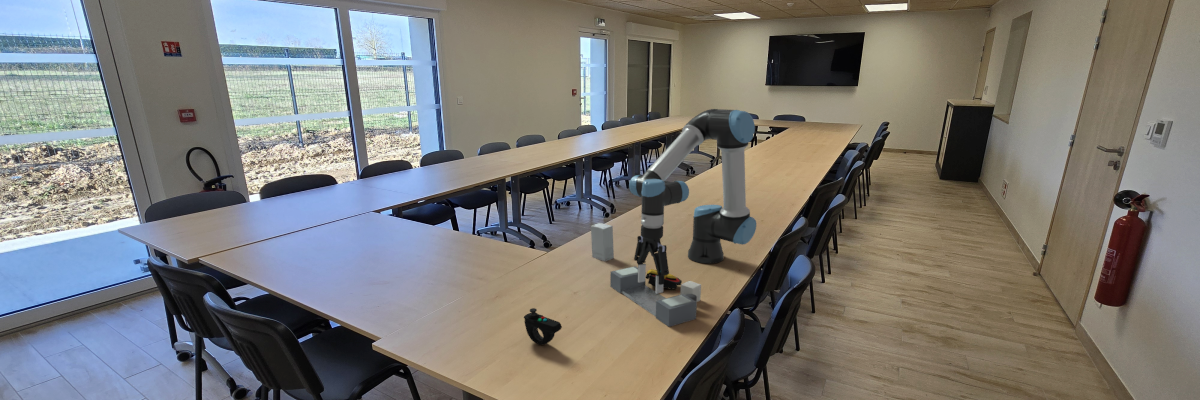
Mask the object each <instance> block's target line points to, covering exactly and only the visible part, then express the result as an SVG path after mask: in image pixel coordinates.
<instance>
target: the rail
mask: <svg viewBox="0 0 1200 400" xmlns="http://www.w3.org/2000/svg"><path fill="white" fill-rule="evenodd" d="M620 294H621V295H624V296H625V297H626V298H628V299H629V300H631V301H632V302H634V303H635V304H637V306H639V307H641V308H642V309H644V310H645V311H647V312H648V313H650V314H651V315H652V316H654V317H655V318H656V301H658V300H662V299H666V296H664V295H662V294H660V293H657V294H656V293H655V290H654V289H652V288H651V287H649V286H647V285H646V284H645V285H640V286H636V287H632V288H628V289H624V290H621V293H620Z"/></svg>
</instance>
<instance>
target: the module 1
mask: <svg viewBox="0 0 1200 400" xmlns="http://www.w3.org/2000/svg"><path fill="white" fill-rule="evenodd" d="M609 279H610V284H609V285H610V288H612V289H613V290H615V291H616V292H617V293H619V294H622V293H621V290H624V289H628V288H632V287H636V286H640V285H646V281H645V282H640V283H639V282H638V266H635V265H634V266H629V267H625V268H620V269H616V270H612V271H610V278H609ZM645 279H646V276H645Z"/></svg>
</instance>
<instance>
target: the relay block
mask: <svg viewBox="0 0 1200 400" xmlns="http://www.w3.org/2000/svg"><path fill="white" fill-rule="evenodd" d="M701 293H702V284H701V283H699V282H698V283H697V282H695V281H692V280H688V281H686V282H683V283H681V285H680V294H679V295H681V294H684V295H686V294H694V295H696V296H697V303H698V302H700V301H701V295H702V294H701Z"/></svg>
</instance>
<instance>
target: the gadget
mask: <svg viewBox="0 0 1200 400" xmlns="http://www.w3.org/2000/svg"><path fill="white" fill-rule="evenodd" d="M660 272H661V271H660ZM656 275H657V270H656V269H655V268H654V269H653V268H651V269H649V270H647V272H646V278H645V280H648V282H647V284H648V285H649V284H650V285H651V286H653V287H654V288H656ZM682 282H683V281H682V279H681V278H678V277H676V276H675V275H674V274H672V273H669V274H668V275H665V276H664V284H663V289H664V288H665V289H669V290H675V289H676V290H677V287H678V286H681V284H683V283H682Z"/></svg>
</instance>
